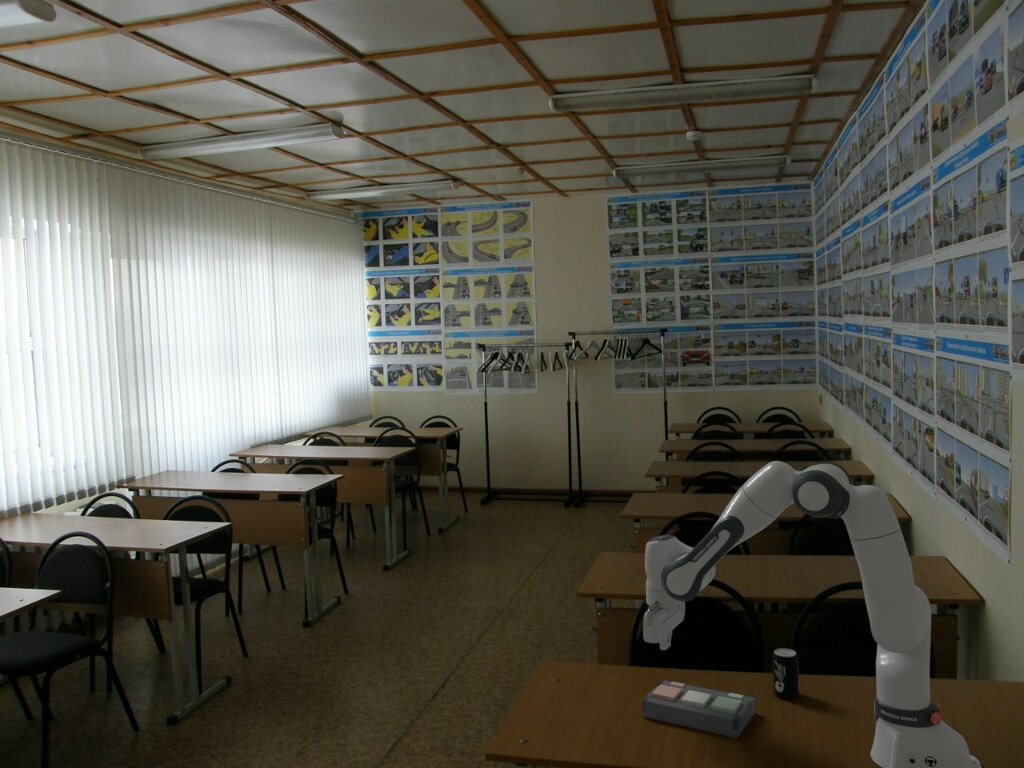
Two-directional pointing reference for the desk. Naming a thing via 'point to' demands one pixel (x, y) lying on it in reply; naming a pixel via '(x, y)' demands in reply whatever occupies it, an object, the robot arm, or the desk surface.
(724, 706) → the sage key
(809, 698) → the desk surface
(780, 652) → the beverage can
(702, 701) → the ivory key
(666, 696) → the rose key
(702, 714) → the keypad
